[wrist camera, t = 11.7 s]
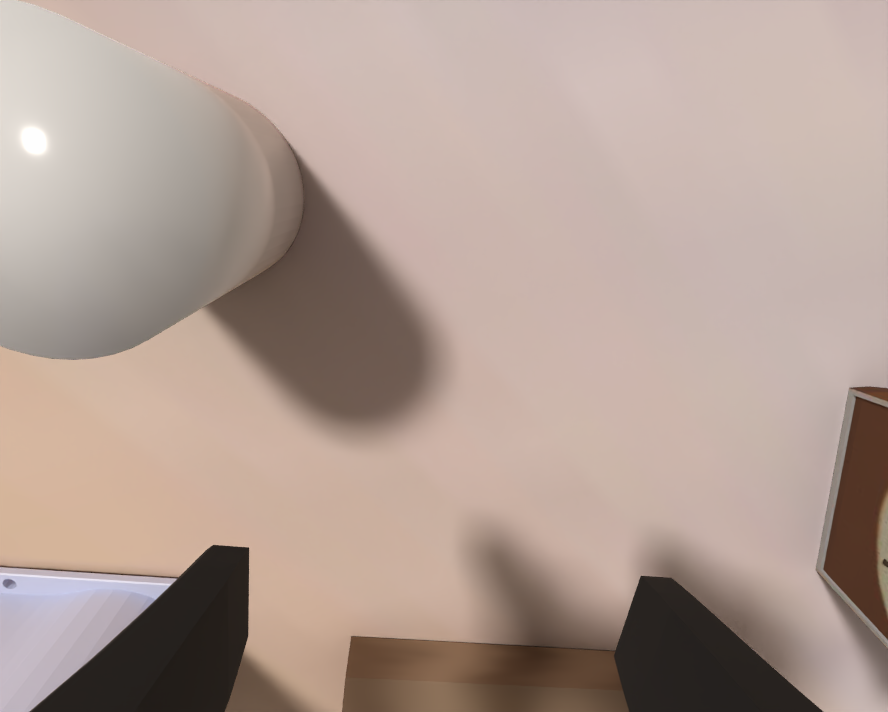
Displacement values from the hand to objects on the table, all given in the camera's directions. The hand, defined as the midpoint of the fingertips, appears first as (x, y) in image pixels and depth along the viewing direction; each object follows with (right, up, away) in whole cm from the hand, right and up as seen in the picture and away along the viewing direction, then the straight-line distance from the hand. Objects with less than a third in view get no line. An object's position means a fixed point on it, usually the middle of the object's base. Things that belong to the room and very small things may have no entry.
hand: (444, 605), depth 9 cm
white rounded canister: (-8, +10, +7) cm, 14 cm away
